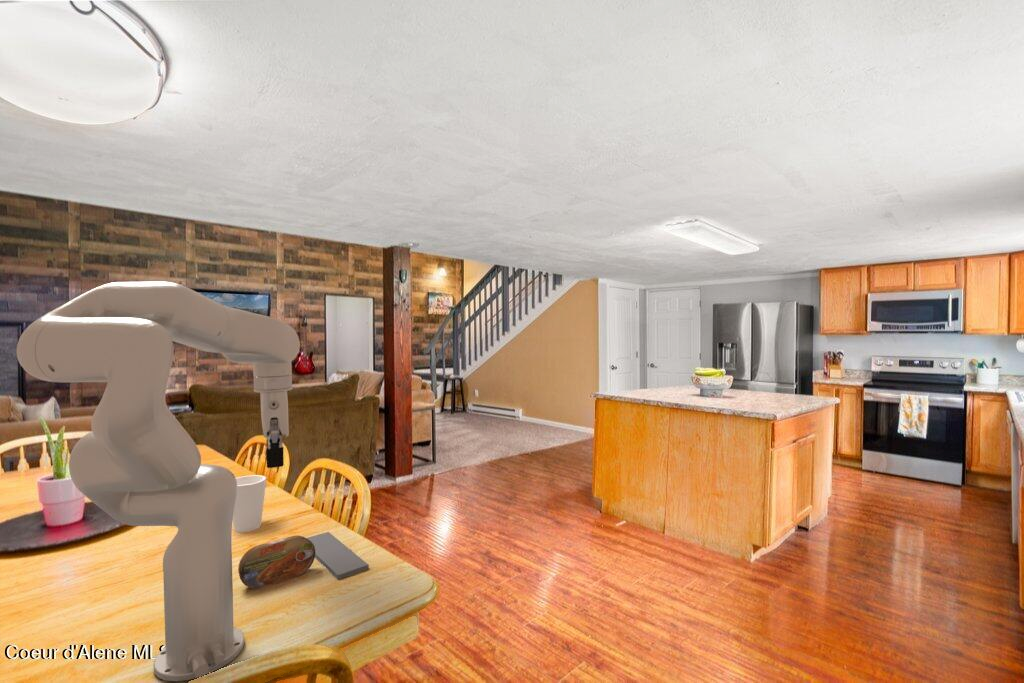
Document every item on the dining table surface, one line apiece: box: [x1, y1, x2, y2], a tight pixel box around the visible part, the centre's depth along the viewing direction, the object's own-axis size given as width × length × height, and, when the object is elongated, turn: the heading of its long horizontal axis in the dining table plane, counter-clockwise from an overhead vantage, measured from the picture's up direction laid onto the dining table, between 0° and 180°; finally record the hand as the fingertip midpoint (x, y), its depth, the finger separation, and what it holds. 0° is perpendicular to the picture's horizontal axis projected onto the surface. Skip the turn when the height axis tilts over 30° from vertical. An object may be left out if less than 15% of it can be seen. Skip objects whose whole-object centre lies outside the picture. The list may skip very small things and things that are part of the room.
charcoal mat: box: [306, 531, 370, 580], centre depth 117 cm, size 24×7×1 cm, turn 41°
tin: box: [237, 535, 316, 590], centre depth 106 cm, size 15×3×8 cm, turn 128°
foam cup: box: [232, 474, 267, 533], centre depth 133 cm, size 10×9×13 cm
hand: (275, 461), depth 108 cm, fingers open, 9 cm apart
